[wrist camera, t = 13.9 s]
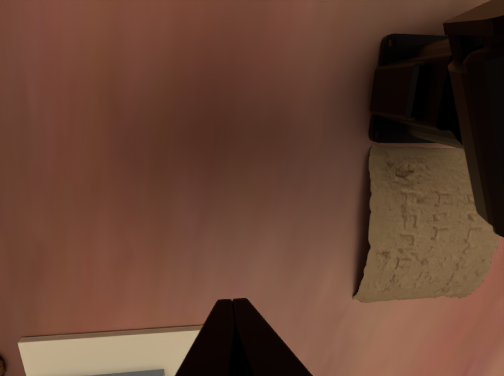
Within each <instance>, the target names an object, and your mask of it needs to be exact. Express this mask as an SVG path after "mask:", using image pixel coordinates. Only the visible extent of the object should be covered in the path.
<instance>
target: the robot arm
mask: <svg viewBox="0 0 504 376" xmlns="http://www.w3.org/2000/svg"><path fill="white" fill-rule="evenodd" d="M443 26H444V31H445V35H448V36H436V35H413V34H390V35H387V36H385V37H384V38H383V40H382V43H381V49H380V56H379V64H378V68H377V69H376V70H375V75H374V82H373V90H372V97H371V105H370V111H371V113H372V115H371V123H370V130H369V138H370V140H372V141H373V142H377V143H440V144H444V145H448V146H452V147H456V148H460V149H464V152H465V158H466V163H467V168H468V173H469V178H470V183H471V188H472V193H473V198H474V203H475V207H476V211H477V213H478V214H479V215H480V216H481V217H482V218H483V219H484V220H485V221H486V222H487V223H488V224H490V225H491V226H492V227H493V232H494V233H495V234H497V235H499V236H502V237H504V0H491V1H489V2H487V3H484V4H482V5H480V6H478V7H476V8H474V9H471V10H469V11H467V12H465V13H463V14H461V15H459V16H456V17H454V18H452V19H450V20H448V21H446V22H444V23H443ZM390 39H391V40H392V41H393V45H392V47H390V46H389V40H390ZM378 131H379V132H380V135H379V137H378V138H376V136H375V135H376V133H377V132H378ZM175 376H313V375H312V374H311V373H310V372H309V371H308V370H307V368H306V367H305V366H304V365H303V364H302V363H301V361H300V360H299V359H298V358H297V357H296V356H295V354H294V353H293V352H292V351H291V350H290V348H289V347H288V346H287V345H286V344H285V343H284V341H283V340H282V339H281V338H280V337H279V336H278V334H277V333H276V332H275V331H274V330H273V328H272V327H271V326H270V325H269V324H268V323H267V321H266V320H265V319H264V318H263V317H262V316H261V314H260V313H259V312H258V311H257V310H256V308H255V307H254V306H253V305H252V304H251V303H250V301H249V300H248V299H247V298H237V299H233V301H232V300H231V299H220V300H217V302H216V303H215V305H214V307H213V309H212V310H211V312H210V314H209V316H208V317H207V319H206V321H205V323H204V325H203V326H202V328H201V330H200V332H199V333H198V335H197V337H196V339H195V340H194V342H193V344H192V346H191V347H190V349H189V351H188V353H187V355H186V356H185V358H184V360H183V362H182V363H181V365H180V367H179V369H178V370H177V372H176V374H175Z"/></svg>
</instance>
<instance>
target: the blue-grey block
mask: <svg viewBox="0 0 504 376" xmlns="http://www.w3.org/2000/svg"><path fill="white" fill-rule="evenodd" d="M88 376H165V373H164V369H159V370H147V371H135V372H124V373H112V374H100V375H88Z"/></svg>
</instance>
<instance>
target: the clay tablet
mask: <svg viewBox="0 0 504 376" xmlns="http://www.w3.org/2000/svg"><path fill="white" fill-rule="evenodd" d="M368 169H369V171H370V178H371V188H370V190H371V192H372V196H371V198H370V204H369V205H370V210H371V211H372V212H371V214H370V222H369V238H368V241H369V243H370V245H371V249H370V250H369V252H368V256H367V261H366V263H367V265H366V266H365V268H364V277H363V279H362V281H361V285H360V286H359V288H360V289H359V290H358V291H359V292H358V293H357V295H356V296H354V297H353V299H356V300H359V301H360V302H364V303H367V302H376V301H389V300H405V299H419V298H436V297H440V296H446V297H458V298H462V297H466V296H467V295H470V294H471V293H472V292H473V291H474V288H476V287H479V285H480V284H482V283H483V282H484V280H483V278H484V277H485V276H486V274H487V273H488V271H489V268H490V264H491V258H492V256H491V255H492V253H493V252H494V251H495V250H496V249H497V247H498V241H499V235H497V234H495V233H494V232H493V227H492V226H491V225H490V224H488V223H487V222H486V221H485V220H484V219H483V218H482V217H481V216H480V215H479V214H478V213H477V211H476V207H475V203H474V198H473V193H472V188H471V183H470V178H469V173H468V168H467V163H466V158H465V152H464V149H460V148H445V149H441V148H405V147H381V146H372V147H371V149H370V156H369V168H368Z"/></svg>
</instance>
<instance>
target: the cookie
mask: <svg viewBox="0 0 504 376" xmlns="http://www.w3.org/2000/svg"><path fill="white" fill-rule="evenodd" d="M5 372H6V370H5V371H4V363H3V361H1V359H0V376H4V374H5Z"/></svg>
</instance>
